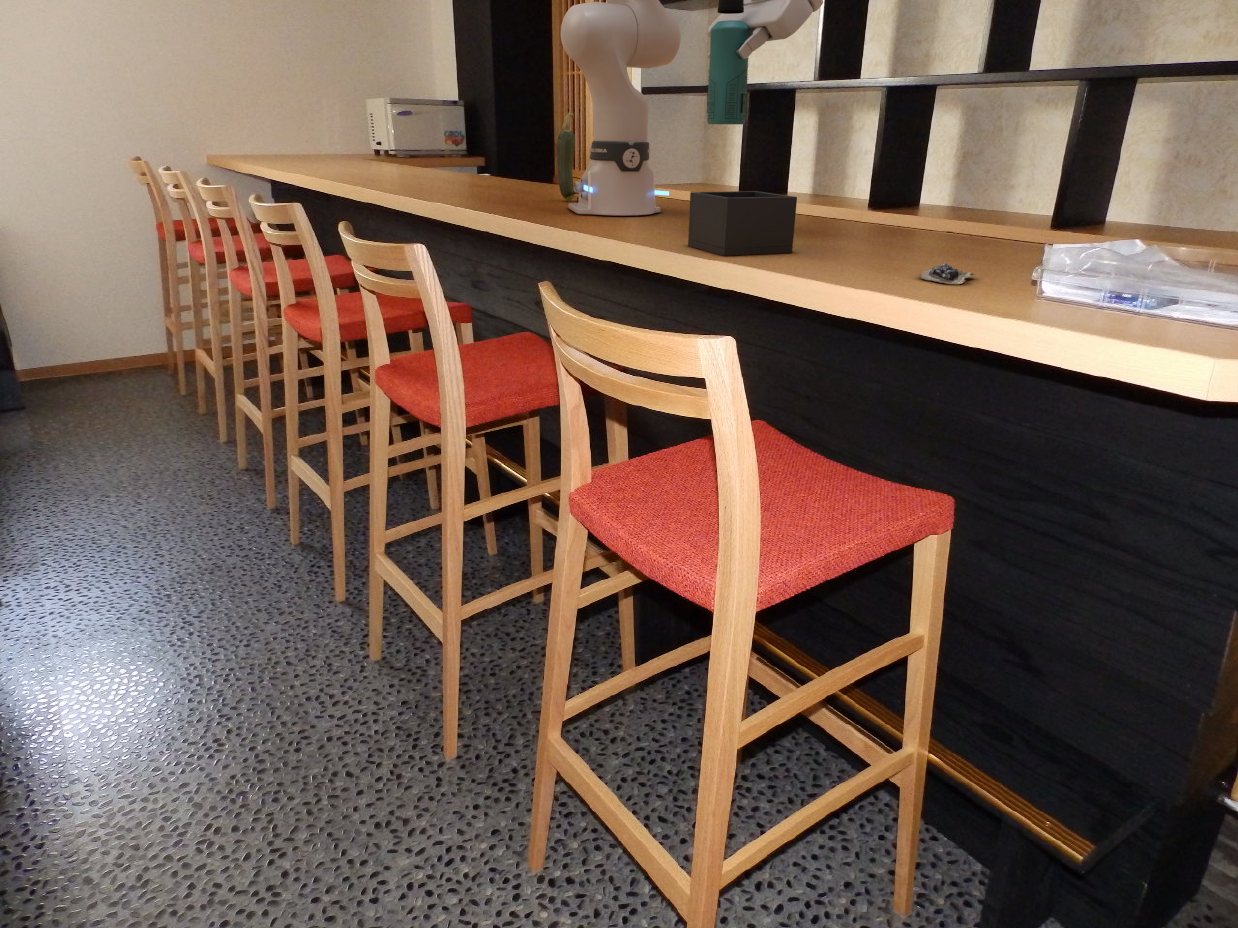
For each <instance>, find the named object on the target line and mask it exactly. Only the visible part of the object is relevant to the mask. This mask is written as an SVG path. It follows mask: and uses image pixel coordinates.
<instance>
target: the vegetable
mask: <svg viewBox="0 0 1238 928" xmlns="http://www.w3.org/2000/svg"><path fill="white" fill-rule="evenodd" d="M574 115H575V114H574V113H572V112H568V113H567V114H566V115H565V116H564V120H563V123H562V127H561V128H562V130H561V131H560V132H559V133H558V136H557V138H556V163H557V165H556V166H557V182H558V186H559V192H560V194H561V196H562V197H563V198H564V200H565V201H566V202H571V200H573V199H574V198H573V197H574V195H573V193H574V178H573V161H574V157H575V149H576V137H575V134H574V132H573V131H572V130H571V126H572V120H574V118H575V116H574Z"/></svg>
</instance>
